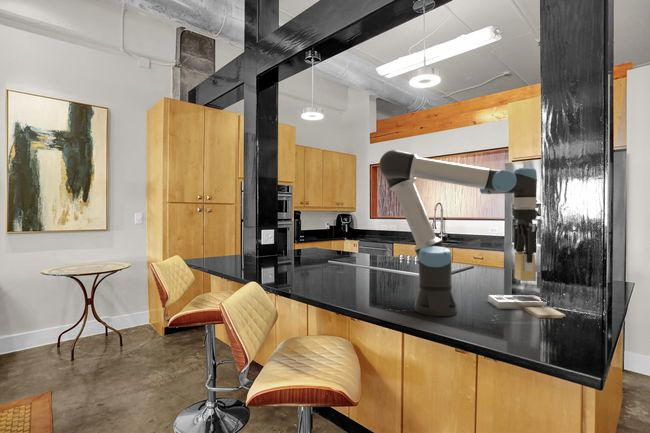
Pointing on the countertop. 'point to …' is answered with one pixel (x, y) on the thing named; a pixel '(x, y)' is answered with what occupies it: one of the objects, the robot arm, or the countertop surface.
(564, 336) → the countertop surface
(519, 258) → the block
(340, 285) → the countertop surface
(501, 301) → the white recessed slab
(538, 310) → the coaster
